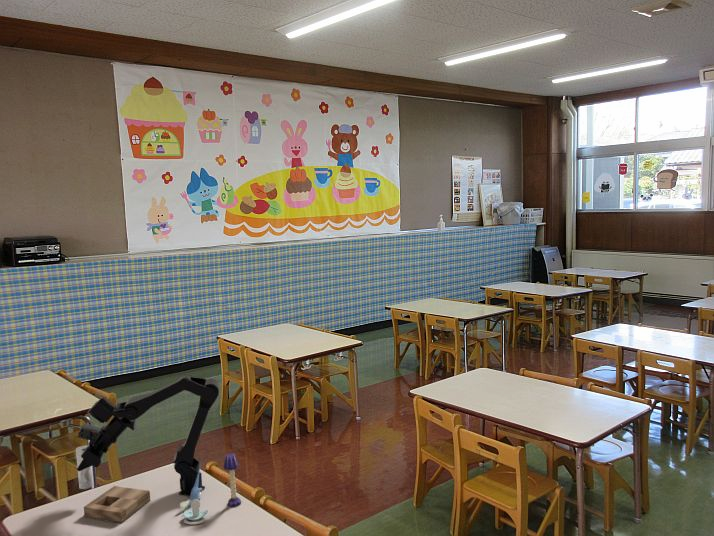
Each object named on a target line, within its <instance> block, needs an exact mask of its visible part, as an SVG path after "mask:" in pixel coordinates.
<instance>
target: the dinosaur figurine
mask: <svg viewBox="0 0 714 536" xmlns="http://www.w3.org/2000/svg"><path fill="white" fill-rule="evenodd" d="M201 465H202V464H201V462H200V467H199V471H198V475H197V478H196V481H195V484H194V487H193V488H192V491H191V496H189V497H190V498H189V499H187V501H181V502H180V503H179V506H180V510H181V511H186V510H189V507H191V502H192V500H194V499H198V500H199V501H201V498H200V497H201V495H202V492H203V490H202V488H198V482H199V472H200V471H201ZM200 473H201V472H200ZM200 490H201V492H200Z"/></svg>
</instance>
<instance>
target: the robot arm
mask: <svg viewBox="0 0 714 536" xmlns="http://www.w3.org/2000/svg"><path fill="white" fill-rule="evenodd" d="M184 391H186V392H189V393H191V394H193V395H195V396H198V397H199V402H198V406H197V409H196V411H195V415H194V417H193V420H192V423H191V426H190V429H189V431H188V434H187V436H186V440H185V441H184V443H183V444H181V445H180V444H178V446H177V450H176V453H175V454H174V457H173V461H172V463H173V464H174V466H173V468H174V471H175V472H176V473H177V474H179V475H180V476H179V477H180V478H179V489H180V491H179V492H178V495H180V496H188V497H191V491H192V488H193V487H194V484H195V481H196V478H197V475H198V471H199V467H200V468H201V465H200V463H201V462H200V461H199V459H197V458H196V457H195V453H196V447H197V443H198V441H199V438H200V437H201V436H200V435H201V434H202V431H203V428H204V426H205V425H204V424H205V422H206V420H207V417H208V414H209V411H210V409H211V408H212V407H213V405H214V404H215V402H216V400H217V398H218V397H219V395H220V394H219V393H220V383H219V382H218V380H216V379H214V378H208V379H207V378H203V377H197V376H192V375H189V374H186V375H185V374H184V375H182V376H181V377H179V378H178V379H175V380H173V381H171V382H170V383H167V384H165V385H163V386H162V387H160V388H158V389H156V390H154V391H152V392H150V393H145V394H139V395H136V396H134V397H131V398H129V399H128V400H126V401H122V402H119V403H116V404H114V403H112V402H111V400H108V398H106V396H104V395H103V396H102V397H100V398H99V399H98V400H97V401H96V402H95V403H94V404H93V405H92V406H91V407H90V408H89V410H88V411H87V412H86V413H87V414H88V415H90V416H91V417H92V418H94V419H95V420H96V421H98V422H99V423H101V424H104V423H107V422H108V421H109V422H108V423H107V424H106V425H103V426H102V427H101V428H100V427H98V426H95V425H93V424H89V423H83V424H82V425H81V427H80V428H79V431H78V432H77V438H79V439H82V440H85V441H89V442H88V446H89V447H87V448H86V449H85V450H84V451H83V453H82V455H81V457H82V458H83V460H82V462H81V463H80V465H79V466H78V468H77V467H76V471H77V472H78V471H81V470H83V469H86V468H88V467H90V466H91V467H92V466H93V467H94V468H98V467H99V466H100V465H101V464H102V462H103V460H104V455H103V454H106V453H108V451H109V449H110V448H111V447H112V445H113V444H115V443H116V442H117V441H118V439H119V438H120V437H121V435H123V434H124V432H126V430H127V429H128V428H129V429H130V430H131V431H134V430H135V428H136V427H137V424H136V421H137V419H139V418H140V417H141V416H143V415H144V414H145V413H147V411H149V410H150V409H152V407H154V406H156V405H158V404H159V403H161V402H163V401H166V400H167V399H170V398H172V397H174V396H176V395H178V394H179V393H181V392H184ZM198 488H202V491H203V490H204V489H205V488H206V486H205V485H203V478H202V472H199V482H198ZM202 491H201V490H200V492H201V493H202Z"/></svg>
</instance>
